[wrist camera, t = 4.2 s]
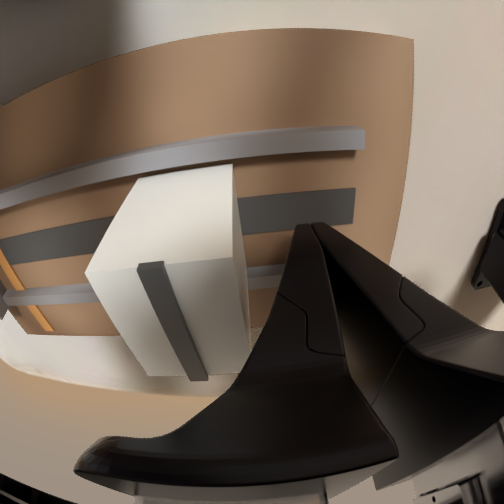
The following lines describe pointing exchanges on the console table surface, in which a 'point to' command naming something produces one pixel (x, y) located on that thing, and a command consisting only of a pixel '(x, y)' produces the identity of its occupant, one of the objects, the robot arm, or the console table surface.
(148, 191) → the fader tab
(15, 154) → the fader board
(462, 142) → the console table surface
